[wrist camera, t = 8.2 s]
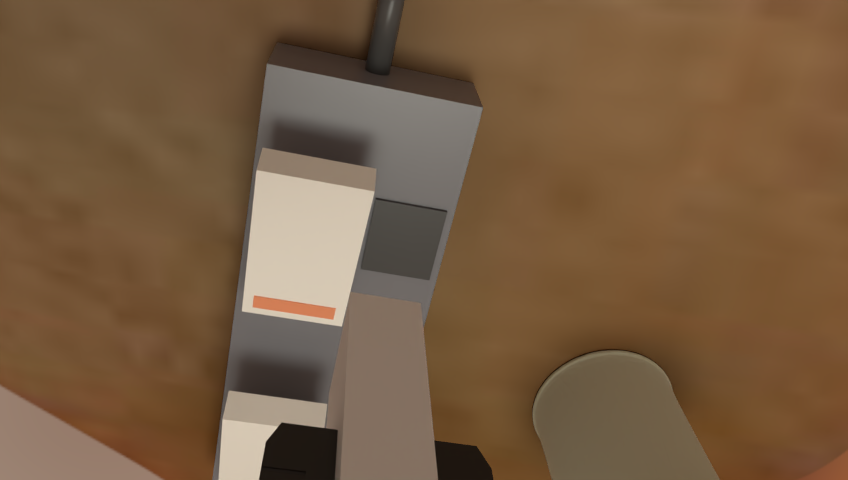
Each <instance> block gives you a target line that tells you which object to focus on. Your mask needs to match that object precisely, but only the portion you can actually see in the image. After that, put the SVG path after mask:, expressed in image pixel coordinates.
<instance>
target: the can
mask: <svg viewBox="0 0 848 480" xmlns="http://www.w3.org/2000/svg"><path fill="white" fill-rule="evenodd" d="M532 416H533V424H534V427H535V430H536V433H537V434H538V436H539V438H540V441H541V444H542V447H543V450H544V453H545V457H546V461H547V464H548V468H549V471H550V475H551V478H552V480H720V479H719V477H718V476H717V474H716V472H715V470H714V468H713V467H712V465H711V463H710V461H709V459H708V457H707V456H706V454H705V452H704V450H703V448H702V446H701V445H700V443H699V441H698V439H697V437H696V435H695V433H694V432H693V430H692V428H691V426H690V424H689V422H688V420H687V418H686V416H685V415H684V413H683V411H682V409H681V407H680V405H679V403H678V401H677V399H676V397H675V395H674V393H673V389H672V386H671V383H670V380H669V379H668V377H667V375H666V374H665V372H664V371H663V370H662V369H661V368H660V367H659V366H658V365H657V364H656V363H654V362H653V361H652V360H650V359H648V358H646V357H644V356H642V355H639V354H637V353H633V352H629V351H622V350H605V351H597V352H592V353H589V354H585V355H582V356H580V357H577V358H575V359H573V360H571V361H569V362H567V363H566V364H564V365H562V366H561V367H560V368H558V369H557V370H556V371H554V372H553V373H552V374H551V375H550V376H549V377H548V378H547V379H546V381H545V382H544V383H543V385H542V386H541V388H540V389H539V391H538V393H537V396H536V398H535V401H534V405H533V414H532Z"/></svg>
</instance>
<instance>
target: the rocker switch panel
mask: <svg viewBox="0 0 848 480" xmlns="http://www.w3.org/2000/svg"><path fill="white" fill-rule="evenodd" d="M404 1H405V0H378V4H377V9H376V14H375V19H374V25H373V30H372V35H371V40H370V45H369V51H368V56H367V61H365V60H360V59H355V58H350V57H346V56H341V55H336V54H331V53H326V52H322V51H317V50H312V49H307V48H302V47H298V46H293V45H288V44H283V43H278V42H277V44H276V46H275V48H274V50H273V52H272V54H271V56H270V58H269V60H268V63H267V67H266V75H265V82H264V90H263V97H262V105H261V113H260V120H259V128H258V136H257V143H256V151H255V159H254V166H253V174H252V182H251V189H250V197H249V205H248V212H247V220H246V227H245V235H244V243H243V250H242V258H241V266H240V273H239V281H238V289H237V296H236V304H235V312H234V319H233V327H232V334H231V342H230V350H229V357H228V365H227V373H226V380H225V388H224V396H223V403H222V411H221V419H220V426H219V434H218V441H217V449H216V457H215V464H214V472H213V480H219V464H220V449H221V434H222V419H223V415H224V410H225V406H226V401H227V397H228V392H229V391H236V392H243V393H250V394H258V395H265V396H272V397H280V398H287V399H294V400H302V401H309V402H316V403H324V404H327V411H326V419H325V427H324V428H326V424H327V412H328V400H329V391H330V387H331V382H332V377H333V373H334V368H335V363H336V358H337V354H338V349H339V344H340V339H341V335H342V330H343V325H344V320H345V316H346V312H345V316H344V320H343V324H342V327H341V326H335V325H328V324H322V323H315V322H308V321H302V320H295V319H289V318H282V317H276V316H269V315H263V314H256V313H249V312H243V311H242V305H243V295H244V285H245V276H246V266H247V256H248V247H249V237H250V228H251V218H252V208H253V199H254V189H255V180H256V170H257V166H258V163H259V159H260V155H261V152H262V148H268V149H273V150H279V151H284V152H289V153H295V154H300V155H306V156H311V157H316V158H322V159H327V160H332V161H338V162H343V163H348V164H354V165H359V166H365V167H370V168H375V169H376V181H375V192H374V196H373V201H372V205H371V209H370V213H369V217H368V221H367V225H366V229H365V233H364V238H363V242H362V246H361V250H360V254H359V258H358V262H357V266H356V270H355V275H354V279H353V283H352V287H351V291H350V292H355V293H361V294H367V295H374V296H380V297H386V298H392V299H399V300H405V301H411V302H417V303H421V310H422V321H423V328H424V324H425V321H426V317H427V313H428V310H429V306H430V302H431V298H432V295H433V291H434V287H435V284H436V280H437V276H438V273H439V269H440V265H441V261H442V258H443V254H444V250H445V247H446V243H447V239H448V236H449V232H450V228H451V224H452V221H453V217H454V213H455V210H456V206H457V202H458V199H459V195H460V191H461V187H462V184H463V180H464V176H465V173H466V169H467V165H468V162H469V158H470V154H471V150H472V147H473V143H474V139H475V136H476V132H477V128H478V125H479V121H480V117H481V113H482V110H483V106H482V104H481V101H480V99H479V96H478V94H477V91H476V89H475V86H474V84H473V83H471V82H466V81H461V80H456V79H451V78H447V77H442V76H437V75H432V74H427V73H423V72H418V71H413V70H408V69H403V68H399V67H394V66H391V64H392V59H393V54H394V49H395V44H396V40H397V35H398V30H399V25H400V20H401V15H402V11H403V6H404ZM349 297H350V295H349ZM348 302H349V299H348ZM347 306H348V303H347ZM346 311H347V307H346Z"/></svg>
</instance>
